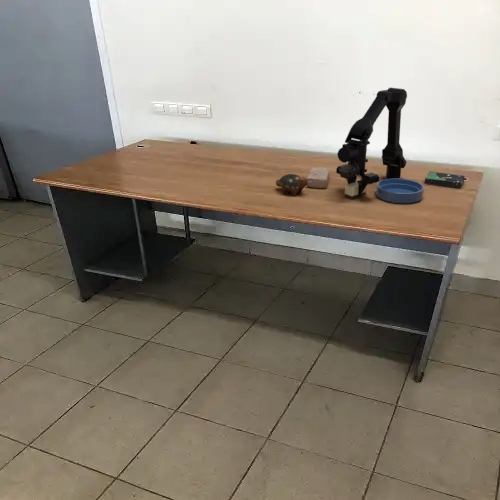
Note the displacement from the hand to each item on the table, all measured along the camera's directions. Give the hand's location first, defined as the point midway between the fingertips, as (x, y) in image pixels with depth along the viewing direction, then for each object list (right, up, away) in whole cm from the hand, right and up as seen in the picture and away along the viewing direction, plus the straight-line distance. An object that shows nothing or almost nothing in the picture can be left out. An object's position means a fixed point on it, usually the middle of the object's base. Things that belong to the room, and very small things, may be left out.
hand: (355, 193), depth 207 cm
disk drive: (+41, +6, +12) cm, 43 cm away
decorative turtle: (-26, +1, +5) cm, 26 cm away
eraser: (0, -1, 0) cm, 1 cm away
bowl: (+17, -1, -1) cm, 17 cm away
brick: (-13, +7, +16) cm, 21 cm away
